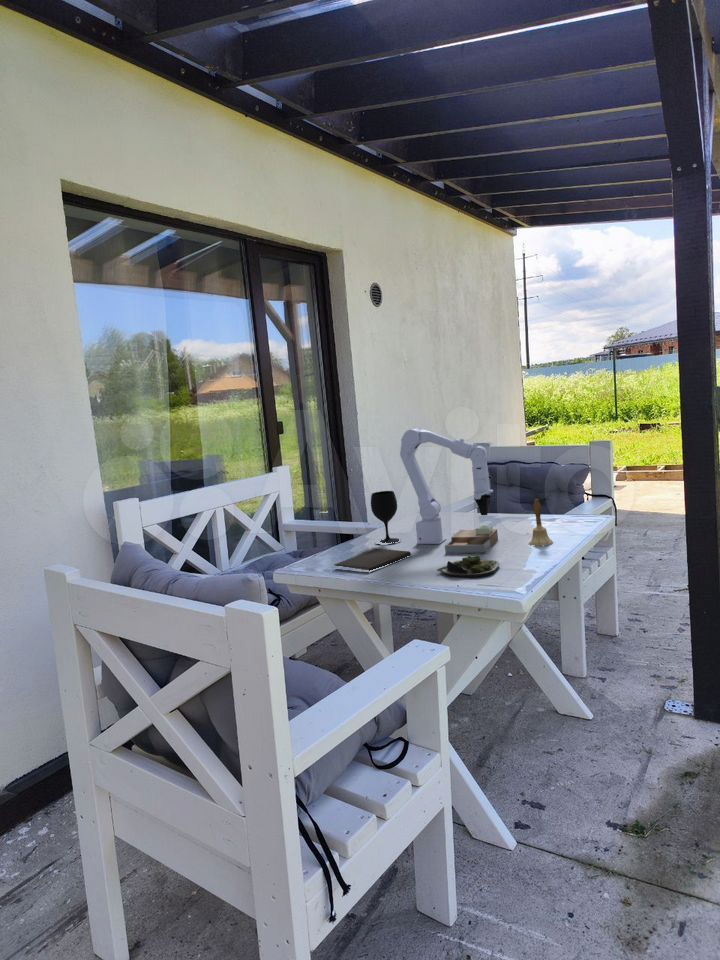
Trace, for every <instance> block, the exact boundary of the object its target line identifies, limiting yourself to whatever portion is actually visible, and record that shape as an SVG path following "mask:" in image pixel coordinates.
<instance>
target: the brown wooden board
mask: <svg viewBox="0 0 720 960" xmlns="http://www.w3.org/2000/svg"><path fill="white" fill-rule="evenodd" d="M498 534H499V533H498V529H497V528H496V529H494V528H493V531H492V532H491V533H490V534H476V529H459V531H457V532H456V533H455V534H453V536H451V538H450V539H451V540H453V544H454V543H468V545H483V544H484V543H485V542H486V541H487V540H490V547H491V546H492V545H493V544H494V543H495V542H496V541H497V542H498V540H499V536H498ZM451 540H450V541H451ZM495 544H496V543H495ZM495 544H494V545H495ZM494 545H493V546H494ZM493 546H492V547H493ZM492 547H491V548H492Z"/></svg>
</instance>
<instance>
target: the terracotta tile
mask: <svg viewBox="0 0 720 960" xmlns="http://www.w3.org/2000/svg"><path fill="white" fill-rule="evenodd" d="M452 545H468V543H454V544H452Z"/></svg>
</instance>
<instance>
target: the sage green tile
mask: <svg viewBox="0 0 720 960" xmlns="http://www.w3.org/2000/svg"><path fill="white" fill-rule="evenodd" d="M493 529H494V528H493V525H478V526H477V527H475V530H476V534H490V533H491V532H492V531H493Z"/></svg>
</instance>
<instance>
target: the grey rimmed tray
mask: <svg viewBox="0 0 720 960" xmlns="http://www.w3.org/2000/svg"><path fill="white" fill-rule="evenodd" d="M452 544H453V540H450V541H448V542H447V543H446V544H445V545H444V550H445V555H451V554H452V555H454V554H455V555H457V554H459V555H464V554H465V553H472V554H473V555H475V554H474V553H481V555H482V553H485V554H486V553H487V552H488V551H489V550H490V549H491V548H490V540H487V541H486V542H485V543H484V544H483V545H452ZM489 548H490V549H489ZM465 555H466V554H465Z"/></svg>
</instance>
